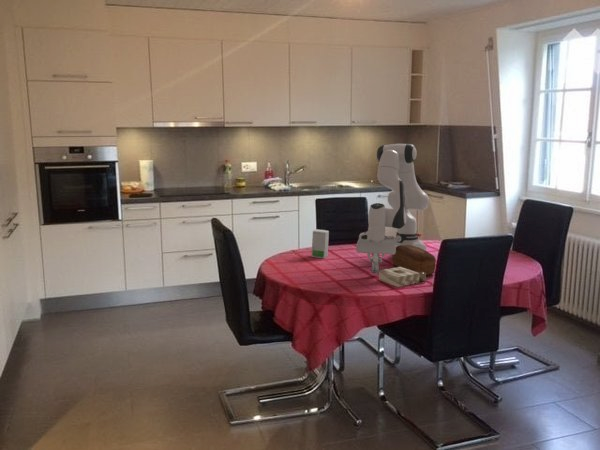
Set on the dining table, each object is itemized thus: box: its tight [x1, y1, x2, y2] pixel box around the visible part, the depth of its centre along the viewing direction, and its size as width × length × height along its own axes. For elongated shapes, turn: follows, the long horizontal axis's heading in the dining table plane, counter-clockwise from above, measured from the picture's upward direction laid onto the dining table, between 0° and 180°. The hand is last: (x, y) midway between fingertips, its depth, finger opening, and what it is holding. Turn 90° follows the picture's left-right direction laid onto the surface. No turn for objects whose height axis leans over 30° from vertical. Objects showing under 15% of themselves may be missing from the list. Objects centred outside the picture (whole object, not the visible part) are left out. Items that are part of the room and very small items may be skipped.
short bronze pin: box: [419, 272, 427, 283], centre depth 289 cm, size 4×4×4 cm
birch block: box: [378, 266, 420, 288], centre depth 289 cm, size 14×14×5 cm
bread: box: [391, 245, 437, 276], centre depth 310 cm, size 14×28×12 cm, turn 21°
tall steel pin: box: [371, 251, 380, 274], centre depth 297 cm, size 4×4×12 cm
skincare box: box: [311, 228, 330, 259], centre depth 336 cm, size 8×7×16 cm
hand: (375, 261), depth 298 cm, fingers closed on tall steel pin, 4 cm apart
